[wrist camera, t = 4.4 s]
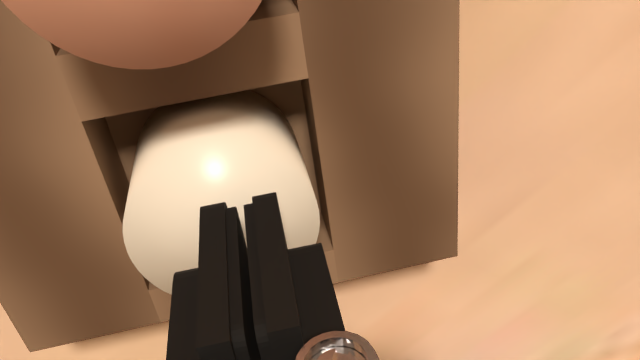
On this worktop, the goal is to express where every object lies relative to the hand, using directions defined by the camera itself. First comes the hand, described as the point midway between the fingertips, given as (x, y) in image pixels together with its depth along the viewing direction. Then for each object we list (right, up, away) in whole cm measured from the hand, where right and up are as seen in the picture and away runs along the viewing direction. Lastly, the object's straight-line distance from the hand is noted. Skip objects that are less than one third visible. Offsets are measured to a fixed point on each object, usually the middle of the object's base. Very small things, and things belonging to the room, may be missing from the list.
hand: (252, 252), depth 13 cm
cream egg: (-1, +2, +4) cm, 5 cm away
